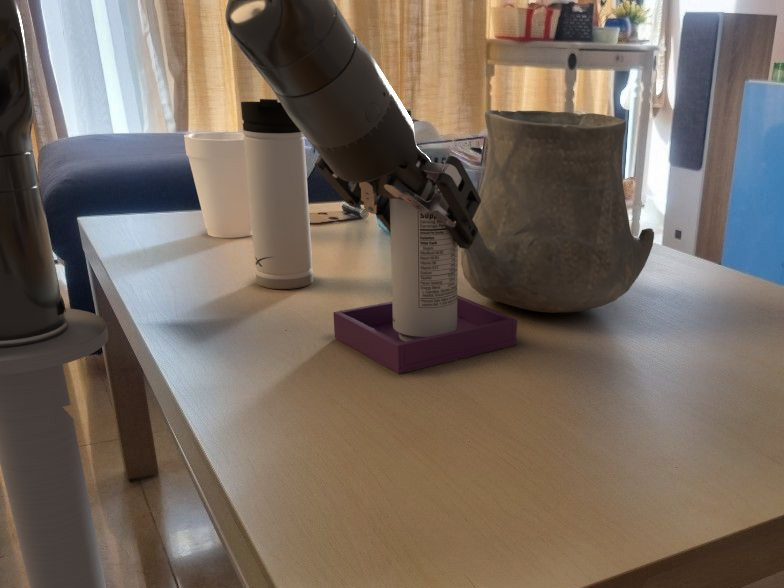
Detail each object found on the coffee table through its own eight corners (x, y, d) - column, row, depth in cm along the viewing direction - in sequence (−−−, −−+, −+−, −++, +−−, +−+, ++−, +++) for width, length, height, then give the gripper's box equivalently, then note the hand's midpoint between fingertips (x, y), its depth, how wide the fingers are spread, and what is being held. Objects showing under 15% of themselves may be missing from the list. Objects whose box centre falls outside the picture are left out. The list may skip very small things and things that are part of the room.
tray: (398, 374, 72) (398, 345, 71) (334, 338, 79) (333, 311, 78) (516, 345, 80) (517, 319, 79) (448, 315, 88) (448, 291, 86)
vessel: (604, 272, 107) (617, 107, 99) (669, 327, 87) (692, 127, 79) (434, 275, 102) (434, 101, 94) (463, 334, 82) (466, 121, 74)
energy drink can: (432, 322, 83) (431, 167, 77) (470, 338, 79) (472, 176, 73) (380, 333, 79) (375, 171, 73) (418, 351, 75) (415, 181, 69)
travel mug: (253, 291, 92) (235, 98, 84) (259, 275, 98) (243, 93, 90) (312, 290, 93) (300, 100, 85) (314, 274, 99) (303, 96, 91)
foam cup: (279, 235, 117) (271, 138, 112) (216, 243, 111) (205, 141, 106) (244, 223, 123) (236, 130, 118) (183, 230, 117) (171, 133, 112)
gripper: (443, 73, 61) (518, 212, 75) (295, 61, 67) (390, 192, 81) (399, 155, 59) (485, 282, 73) (250, 135, 65) (356, 256, 79)
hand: (434, 234), depth 77 cm, fingers open, 7 cm apart
